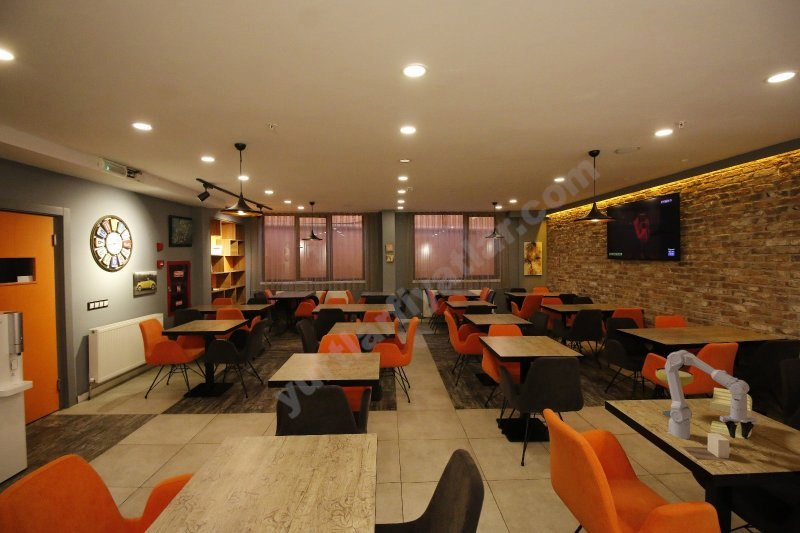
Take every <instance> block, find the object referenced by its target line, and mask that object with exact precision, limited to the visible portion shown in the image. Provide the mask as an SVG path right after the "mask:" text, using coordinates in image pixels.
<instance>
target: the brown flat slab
mask: <svg viewBox="0 0 800 533" xmlns="http://www.w3.org/2000/svg"><path fill="white" fill-rule="evenodd" d="M681 448H682V449H683V450H685V451H686V452H687V453H689V454H690V455H691V456H692V457H694V458H695V459H696V460H698V461H699V460H701V461H722V462H723V461H724V462H736V460H735V459H734V458H732V457H731V456H730V455H729V458H718V457H717V456H715V455H714V454H712V453H711V452H710V451H708V447H702V446H681Z"/></svg>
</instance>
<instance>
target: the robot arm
mask: <svg viewBox="0 0 800 533" xmlns="http://www.w3.org/2000/svg"><path fill="white" fill-rule="evenodd" d="M683 365H684V366H693V367H695V368H697V369H699V370H701V371H703V372H704V373H706V374H708V375H710V376H711V378H712V380H713V381H714V382H716V383H718V384H719V385H721V386H722V387H724V388H726V389H727V390H729V391H730V392H731V414H730V413H729V414H728V415H720V416H719V421H720V422H723V423H725V424H726V426H727V428H728V431H729V434H730V436H729V437H730V438H732V439H736V437H735V432H736V428H737V425H736V423H739V422H740V424H741V430H742V437H743V438H744V439H746V440H747V439H748V438H749V437H748V434H749V432H750V431H751V429H753V428H754V427H755V424H759V422H758V420H759V419H758V418H756V417H754V416H752V417H747V394H748V392H749V391H750V386H749V384H748V383H747V382H746V381H745V380H742V379H739V378H738V377H734V376H732V375H730V374H728V373H727V371H726V370H725V369H723V370H722V369H715V368H714V367H712V366H711V365H709V364H707V363H706V361H705V362H704V361H703V360H701V359H699V357H697V356H695V354H694V353H691V352H689V351H687V350H685V349H680V350H678V351H673V352H670V353H669V355H667V359H666V362H665V364H664V368H665V370H666V375H667V379H668V384H669V385H668V384H667V385H668V387H669V392H670V398H671V405H670V411H671V412H670V416H671V417H669V419H668V431H667V432H666V435H667V434H671V435H672V436H673V437H675V438H678V439H683V440H688V439H689V440H690V439H691V420H690V419H691V418H692V417H693V411H692V410H691V408H690V407H689V403H687V402H686V400H685V399H686V398H685V395H684V391H683V390H684V389H683V386H681V381H680V377H679V372H678V369H679V370H680V368H681V367H682V366H683ZM745 393H746V394H745ZM747 437H748V438H747ZM743 438H742V439H743Z"/></svg>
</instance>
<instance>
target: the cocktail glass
mask: <svg viewBox="0 0 800 533" xmlns="http://www.w3.org/2000/svg"><path fill="white" fill-rule="evenodd" d="M678 372H679V377H680V381H681V386H682V387H684V386H688V385H690V384H693V382H694V377H695V376H694V374H693V373H692V372H690V371H687V370H684V369H680V368H679V369H678ZM655 377H656V379H658V380H659V381H660V382H662V383H664V384H665V385H667V386H669V384H668V379H667V375H666V370H665V367H660V368H657V369H655ZM670 412H671V410H665V411H662V415H664V416H666V417H668V418H671V416H670Z"/></svg>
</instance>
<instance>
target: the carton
mask: <svg viewBox="0 0 800 533" xmlns="http://www.w3.org/2000/svg"><path fill="white" fill-rule="evenodd" d="M707 448H708V451H710V452H711V453H712V454H714V455H715V456H717V457H718V458H729V456H730V440H729V439H728V438H726V437H725V436H724V435H721V433H716V432H713V433H712V432H708V433H707Z"/></svg>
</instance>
